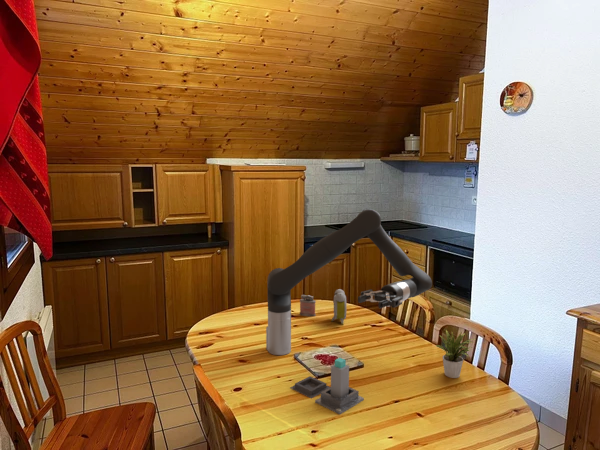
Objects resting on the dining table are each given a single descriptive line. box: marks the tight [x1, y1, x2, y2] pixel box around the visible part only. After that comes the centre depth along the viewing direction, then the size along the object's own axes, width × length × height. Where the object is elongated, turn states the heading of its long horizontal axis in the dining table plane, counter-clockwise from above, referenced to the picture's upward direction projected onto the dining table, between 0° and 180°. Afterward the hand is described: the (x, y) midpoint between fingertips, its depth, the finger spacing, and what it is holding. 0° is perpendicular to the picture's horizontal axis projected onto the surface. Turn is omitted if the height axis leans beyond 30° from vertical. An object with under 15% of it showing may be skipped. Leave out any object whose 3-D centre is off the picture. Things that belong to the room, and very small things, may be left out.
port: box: [314, 386, 365, 415], centre depth 146 cm, size 10×12×4 cm
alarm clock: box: [330, 288, 347, 326], centre depth 219 cm, size 12×7×15 cm, turn 179°
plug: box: [330, 357, 350, 399], centre depth 146 cm, size 4×4×13 cm
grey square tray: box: [289, 375, 331, 400], centre depth 155 cm, size 10×10×2 cm
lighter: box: [299, 294, 317, 317], centre depth 229 cm, size 8×3×10 cm, turn 71°
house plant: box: [435, 329, 475, 379], centre depth 163 cm, size 14×14×16 cm
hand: (369, 302), depth 157 cm, fingers open, 8 cm apart
